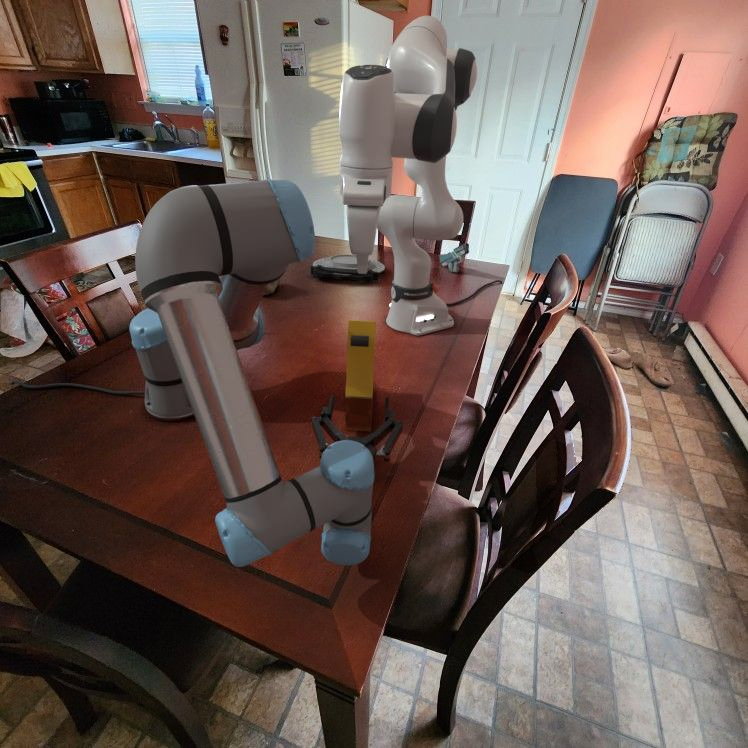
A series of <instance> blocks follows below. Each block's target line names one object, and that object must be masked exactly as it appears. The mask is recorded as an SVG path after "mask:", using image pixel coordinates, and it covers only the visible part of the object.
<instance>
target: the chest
mask: <svg viewBox="0 0 748 748" xmlns="http://www.w3.org/2000/svg"><path fill="white" fill-rule="evenodd" d="M374 377H375V374H374V375H373V382H374ZM373 399H374V394H373V395H372V397H355V396H346V395H345V431H351V432H352V431H355V432H372V421H373V420H372V418H373V402H374V401H373Z"/></svg>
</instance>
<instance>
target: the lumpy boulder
mask: <svg viewBox="0 0 748 748" xmlns="http://www.w3.org/2000/svg"><path fill="white" fill-rule="evenodd" d="M280 283H281V277H280V278H279V279H278V280H277V281H275V282H273V283H271V284H268V287H267V289H266V291H265V293H264V295H263V296H268V295H270V294H273V293H274V292H275V291H276V289H277V287H279V285H280Z"/></svg>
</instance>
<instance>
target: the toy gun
mask: <svg viewBox="0 0 748 748" xmlns="http://www.w3.org/2000/svg"><path fill="white" fill-rule="evenodd" d="M468 254H470V244H469V243H462V244H461V245H458V246H457V247H455V248H453V250H452V251H449V252H447V253H443V254H439V263H440V264H441V265H442V267H443V268H444V267H448V270H449V272H450V273H459V271H460V264H461V263H463V262H465V261H466V257H467V255H468Z"/></svg>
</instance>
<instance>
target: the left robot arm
mask: <svg viewBox="0 0 748 748" xmlns="http://www.w3.org/2000/svg"><path fill="white" fill-rule="evenodd" d="M307 201H308V200H307V198H306V197H305V195H304V193H303V191H302V190H301V188H300V187H299V186H298V185H297V184H296V183H294V182H293V181H291V180H289V179H272V178H267V179H261V180H251V181H250V180H249V181H239V182H229V183H218V184H205V185H204V184H203V185H196V184H195V185H193V184H192V185H186V186H181V187H178V188H176V189H173V190H170V191H169V192H167V193H166V194H165V195H163V196H162V197H161V198H160V199H158V201H156V202H155V204H154V205H153V206H152V207H151V209H149V211H148V213H147V214H146V216H145V218H144V220H143V223H142V225H141V228H140V231H139V234H138V237H137V242H136V247H135V256H134V263H135V264H134V265H135V277H136V282H137V286H138V288H139V292H140V295H141V297H142V301H143V303H144V305H145V307H146V308H145V309H143V310H141V311H140V312H138V314H136V315H135V316H134V317H133V318H132V319H131V321H130V323H129V329H128V330H129V333H130V337H131V345H132V346H133V348H134V349H135V352H136V355H137V358H138V361H139V364H140V367H141V370H142V373H143V376H144V379H145V389H144V390H142V391H141V390H130V391H129V390H128V391H120V390H112V389H107V388H102V387H97V386H93V385H87V384H81V383H80V384H79V383H72V382H71V383H70V382H60V383H59V382H58V383H49V384H42V385H29V384H26V383H24V382H23V381H22V382H21V381H19V380H16V379H15V380H14V379H13V380H12V381H11V382H10V383H9V385H11V386H14V385H15V384H16V385H18V386H20V387H23V388H25V389H31V390H38V389H39V390H40V389H49V388H57V387H73V388H82V389H87V390H93V391H98V392H103V393H107V394H112V395H121V396H122V395H123V396H125V395H144V406H145V409H146V413H147V414H148V415H149V416H150V417H151V418H153V419H155V420H157V421H162V422H179V421H184V420H188V419H191V418H193V417H194V418H195V421H196V423H197V426H198V429H199V432H200V435H201V437H202V440H203V444H204V446H205V449H206V451H207V454H208V457H209V459H210V462H211V465H212V468H213V471H214V473H215V476H216V480H217V482H218V485H219V487H220V489H221V493H222V495H223V498H224V500H225V504H226V507H225V508H224V509H223V510H222V511H219V512H218V513H217V514H216V515H215V519H214V521H215V525H216V528H217V531H218V535H219V538H220V540H221V543H222V546H223V548H224V551H225V554H226V555H227V558H228V559H229V561H230V563H231V564H232V565H233V566H234V567H237V568H243V567H246V566H248V565H250V564H252V563H254V562H257V561H258V560H261V559H263V558H265V557H267V556H271V555H273V553H274V552H276V551H278V550H280V549H281V548H283V547H285V546H287V545H289V544H291V543H293V542H294V541H296V540H297V539H299V538H301V537H303V536H305V535H307V534H308V533H311V532H313V531H314V530H317V529H319V528H321V527H322V526H323V528H322V532H321V547H320V549H321V550H320V551H321V554H322V555H323V557H324V558H325V559H326V560H327V561H329V562H330V563H332V564H334V565H339V566H348V567H349V566H355V565H359V564H361V563H362V562H364V561H365V560H367V558H368V556H369V555H370V547H371V541H372V515H373V492H374V482H375V460H376V459H383V461H384V462H386V463H388V462H390V460H391V453H392V451H393V449H394V447H395V445H396V443H397V442H398V440H399V438H400V437H401V435H402V433H403V427H404V421H403V420H396V419H395V411H394V409H390V398H389V397H385V402H384V423H382V424H381V425H380V426H379V427H378V428H377V429H376V430H374V431H373V432H372V433H369V434H368V435H367V436H365V437H364V436H352V435H351V436H350V435H347V436H346V435H345V434H344V432H342V431H340V430H339V429H338V427H336V425H335V424H334V423H333V422H332V419H333V413H334V407H335V395H334V394H330V395H329V400H328V405H327V406H323V407H322V411H321V412H320V416H316V415H315V416H314V415H313V416H312V417H311V427H312V431H313V434H314V437H315V439H316V442H317V445H318V458H319V459H320V462H319V466H317V467H315V468H313V469H311V470H308V471H307V472H304V473H302V474H299V475H298V476H295V477H293V478H291V479H288V480H287V481H283V478H282V475H281V471H280V468H279V466H278V463H277V460H276V456H275V454H274V451H273V449H272V445H271V443H270V440H269V437H268V434H267V432H266V429H265V427H264V423H263V421H262V418H261V415H260V412H259V409H258V406H257V403H256V401H255V398H254V396H253V393H252V390H251V386H250V383H249V381H248V378H247V374H246V372H245V370H244V366H243V364H242V361H241V358H240V356H239V353H238V350H243V349H249V348H252V347H253V346H255V345H257V344H259V343H260V342H261V341H262V340H263V339H264V335H265V329H264V328H265V319H264V315H263V312H262V310H261V307H260V306H259V305H260V304H261V301H262V299H263V298H264V296H265V295H264V293H265V291H266V289H267V287H268V284H271V283H273V282H275V281H277V280H278V279H279V278H280V279H281V277H283V275H284V274H285V273H286V271H287V270H288V268H289V265H291V264H293V263H299V264H300V263H303V262H304V261H308V260H310V259H311V258H312V257H313V255H314V253H315V248H316V232H315V227H314V220H313V216H312V213H311V210H310V209H311V208H310V207H309V204H308V202H307ZM21 385H22V386H21ZM322 428H323V429H322ZM324 431H325V433H327V435H328V436H329V438H330V439H331V440H332V442H333V443H331V444H329V443H328V442H327V441H326V436H325V434H324ZM387 436H388V437H387ZM386 437H387V438H386ZM385 438H386V440H385V442H384V445H382V446H381V447H380V448H379V450H377V448H376V446H377V445H379V443H381V442H382V441H383V440H384V439H385Z"/></svg>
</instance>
